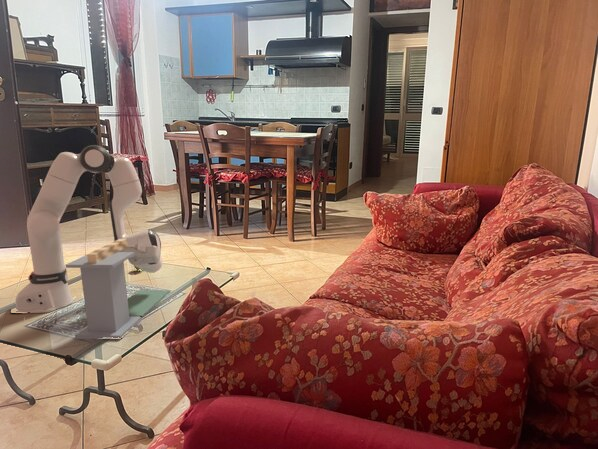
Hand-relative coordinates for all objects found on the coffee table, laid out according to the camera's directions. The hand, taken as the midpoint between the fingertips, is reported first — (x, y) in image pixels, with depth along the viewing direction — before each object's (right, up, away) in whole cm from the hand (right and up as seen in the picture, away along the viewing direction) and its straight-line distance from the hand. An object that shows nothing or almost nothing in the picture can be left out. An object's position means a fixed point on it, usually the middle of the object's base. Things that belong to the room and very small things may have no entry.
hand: (124, 246), depth 168 cm
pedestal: (-1, -29, -11) cm, 31 cm away
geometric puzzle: (-15, -16, +58) cm, 62 cm away
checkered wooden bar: (-1, -2, -11) cm, 11 cm away
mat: (+1, -24, +13) cm, 27 cm away
